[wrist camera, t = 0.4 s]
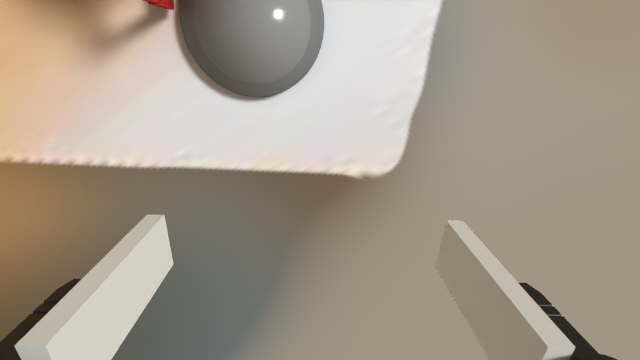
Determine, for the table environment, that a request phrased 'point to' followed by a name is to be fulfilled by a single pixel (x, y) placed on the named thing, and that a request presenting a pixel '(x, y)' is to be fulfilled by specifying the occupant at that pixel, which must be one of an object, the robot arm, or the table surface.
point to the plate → (253, 41)
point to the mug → (162, 3)
